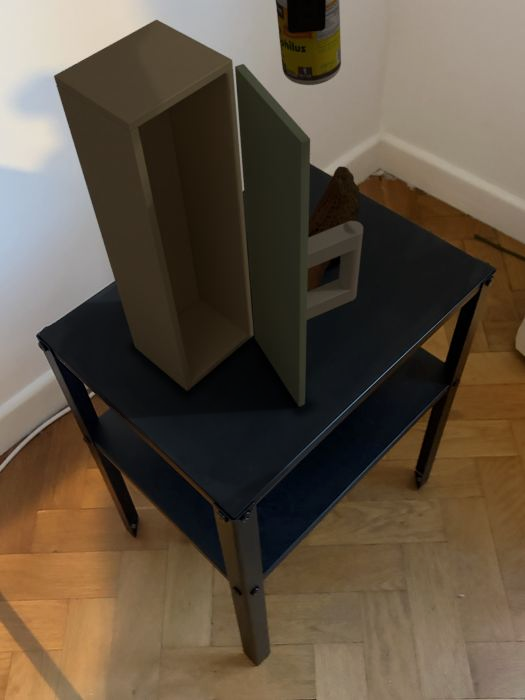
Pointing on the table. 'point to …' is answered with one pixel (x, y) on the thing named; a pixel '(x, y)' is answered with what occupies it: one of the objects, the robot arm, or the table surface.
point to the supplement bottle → (310, 47)
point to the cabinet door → (286, 233)
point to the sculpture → (332, 215)
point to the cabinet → (166, 192)
